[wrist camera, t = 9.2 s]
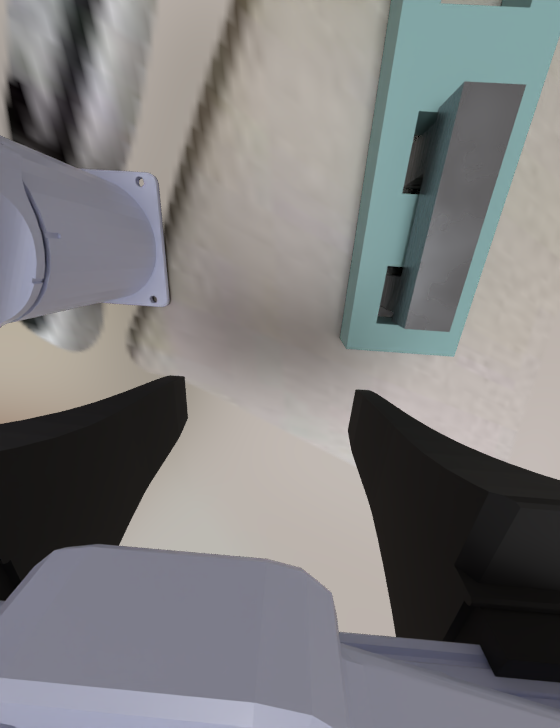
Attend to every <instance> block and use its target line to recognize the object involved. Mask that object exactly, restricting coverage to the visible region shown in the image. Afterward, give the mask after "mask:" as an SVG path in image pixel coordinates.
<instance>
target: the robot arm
mask: <svg viewBox="0 0 560 728" xmlns="http://www.w3.org/2000/svg"><path fill="white" fill-rule="evenodd" d="M142 178H143V180H144V185H143V186H142V187H140V185H139V180H140V179H142ZM153 296H155V297H156V298H157V302H154V301H153V299H152V298H153ZM169 301H170V299H169V288H168V277H167V267H166V256H165V245H164V235H163V224H162V213H161V203H160V193H159V183H158V180H157V178H156V177H155V176H154V175H152V174H150V173H147V172H130V171H114V170H98V169H81V168H76V167H74V166H71V165H69V164H66V163H64V162H62V161H59V160H57V159H55V158H52V157H50V156H48V155H45V154H43V153H40V152H38V151H36V150H33V149H31V148H29V147H26V146H24V145H21V144H19V143H17V142H14V141H12V140H10V139H7V138H5V137H3V136H0V327H2V326H3V325H5V324H7V323H11V322H16V321H20V320H25V319H29V318H33V317H38V316H42V315H47V314H51V313H56V312H60V311H65V310H69V309H73V308H78V307H82V306H87V305H91V304H96V303H112V304H127V305H141V306H155V307H164V306H167V305H168V304H169ZM187 419H188V414H187V402H186V389H185V377H183V376H166V377H163V378H160V379H157V380H154V381H151V382H149V383H146V384H144V385H141V386H139V387H136V388H133V389H131V390H128V391H126V392H123V393H120V394H117V395H114V396H112V397H109V398H106V399H103V400H100V401H97V402H94V403H91V404H88V405H84V406H81V407H77V408H74V409H70V410H66V411H62V412H58V413H53V414H49V415H44V416H40V417H35V418H31V419H26V420H21V421H15V422H10V423H4V424H0V728H560V480H557V479H553V478H550V477H547V476H544V475H541V474H538V473H535V472H532V471H529V470H526V469H523V468H520V467H518V466H515V465H512V464H509V463H506V462H504V461H501V460H499V459H496V458H493V457H491V456H488V455H486V454H484V453H481V452H479V451H477V450H474V449H472V448H469V447H467V446H465V445H463V444H461V443H459V442H456V441H454V440H452V439H450V438H448V437H446V436H445V435H443V434H441V433H439V432H437V431H435V430H433V429H431V428H429V427H428V426H426V425H424V424H423V423H421V422H419V421H418V420H416V419H414V418H413V417H411V416H410V415H408V414H406V413H405V412H403V411H402V410H400V409H399V408H397V407H396V406H394V405H393V404H391V403H390V402H388V401H387V400H385V399H384V398H382V397H381V396H379V395H378V394H376V393H374V392H372V391H370V390H355V396H354V401H353V406H352V412H351V417H350V422H349V427H348V434H349V440H350V445H351V450H352V454H353V457H354V460H355V463H356V466H357V469H358V472H359V474H360V478H361V481H362V484H363V486H364V489H365V492H366V495H367V498H368V501H369V505H370V508H371V511H372V515H373V520H374V524H375V529H376V533H377V537H378V542H379V547H380V552H381V557H382V561H383V566H384V571H385V576H386V582H387V587H388V592H389V597H390V603H391V609H392V614H393V621H394V626H395V633H396V637H389V636H378V635H367V634H356V633H345V632H339V631H338V623H337V615H336V610H335V606H334V601H333V596H332V593H331V592H330V591H329V590H328V589H327V588H326V587H324V586H323V585H322V584H321V583H320V582H318V581H317V580H316V579H315V578H313V577H312V576H311V575H310V574H308V573H307V572H306V571H305V570H303V569H302V568H300V567H296V566H292V565H288V564H285V563H281V562H277V561H273V560H269V559H263V558H252V557H240V556H229V555H218V554H205V553H195V552H184V551H172V550H161V549H149V548H138V547H127V546H119V544H120V542H121V540H122V538H123V536H124V533H125V531H126V529H127V527H128V525H129V523H130V521H131V519H132V516H133V515H134V513H135V511H136V509H137V507H138V505H139V503H140V501H141V499H142V497H143V495H144V493H145V491H146V489H147V488H148V486H149V484H150V483H151V481H152V480H153V478H154V476H155V475H156V473H157V472H158V470H159V469H160V467H161V466H162V464H163V462H164V461H165V459H166V458H167V456H168V455H169V453H170V452H171V450H172V448H173V447H174V445H175V443H176V442H177V440H178V439H179V437H180V435H181V433H182V430H183V428H184V426H185V423H186V421H187Z"/></svg>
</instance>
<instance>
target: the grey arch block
mask: <svg viewBox="0 0 560 728" xmlns="http://www.w3.org/2000/svg"><path fill="white" fill-rule="evenodd" d="M525 88H526V84H506V83H487V82H467V81H464V82H463V84H462V85H461V86H460V87H459V88H458V89H457V90H456V91H455V92H454V93H453V94H452V95H451V96H450V97H449V98H448V99H447V100H446V101H445V102H444V103H443V104H442V105H441V106H440V107H439V108H438V113H437V117H436V122H435V123H434V124H433V125H432V126H431V127H430V128H429V129H428V130H427V131H426V132H425V133H424V134H422V135H421V136H420V137H419V138H418V139H417V140H416V141H415V142H414V143H413V144H412V148H411V153H410V157H409V162H408V167H407V172H406V177H405V182H404V187H403V188H412V189H421V190H420V194H419V199H418V203H417V208H416V212H415V217H414V221H413V226H412V230H411V235H410V239H409V244H408V248H407V253H406V257H405V262H404V266H403V271H402V275H401V276H396V275H386V277H385V282H384V287H383V292H382V297H381V302H380V306H382V307H384V308H386V309H388V310H389V311H391V312H393V316H392V320H391V321H393V322H394V323H396V324H397V325H399V326H401V327H402V328H404V329H413V330H427V331H441V332H450V329H451V326H452V323H453V320H454V316H455V313H456V310H457V307H458V303H459V300H460V297H461V294H462V291H463V287H464V284H465V281H466V278H467V274H468V271H469V268H470V265H471V262H472V258H473V255H474V252H475V249H476V245H477V242H478V239H479V236H480V233H481V229H482V226H483V223H484V220H485V216H486V213H487V210H488V207H489V204H490V200H491V197H492V194H493V191H494V187H495V184H496V181H497V178H498V175H499V171H500V168H501V165H502V162H503V158H504V155H505V152H506V149H507V146H508V142H509V139H510V136H511V133H512V129H513V126H514V123H515V120H516V117H517V113H518V110H519V107H520V104H521V100H522V97H523V94H524V91H525Z"/></svg>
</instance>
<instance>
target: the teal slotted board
mask: <svg viewBox="0 0 560 728" xmlns="http://www.w3.org/2000/svg"><path fill="white" fill-rule="evenodd" d="M559 36H560V0H503V1H502V5H501V6H483V5H462V4H441V0H391V5H390V11H389V18H388V24H387V31H386V37H385V44H384V51H383V57H382V64H381V70H380V77H379V84H378V90H377V97H376V103H375V110H374V117H373V123H372V130H371V136H370V143H369V149H368V156H367V163H366V169H365V176H364V182H363V189H362V196H361V202H360V209H359V215H358V222H357V229H356V235H355V242H354V248H353V255H352V261H351V268H350V275H349V281H348V288H347V294H346V301H345V308H344V314H343V321H342V327H341V334H340V339H341V341H342V343H343V344H344V346H345V348H346V349H356V350H370V351H384V352H398V353H412V354H425V355H439V356H453V357H454V355H455V352H456V349H457V346H458V343H459V340H460V337H461V334H462V331H463V328H464V325H465V322H466V319H467V316H468V313H469V309H470V306H471V303H472V300H473V297H474V294H475V291H476V288H477V285H478V282H479V279H480V276H481V273H482V270H483V267H484V264H485V261H486V258H487V255H488V252H489V249H490V246H491V243H492V240H493V237H494V234H495V230H496V227H497V224H498V221H499V218H500V215H501V212H502V209H503V206H504V203H505V200H506V197H507V194H508V191H509V188H510V185H511V182H512V179H513V176H514V173H515V170H516V167H517V164H518V161H519V158H520V154H521V151H522V148H523V145H524V142H525V139H526V136H527V133H528V130H529V127H530V124H531V121H532V118H533V115H534V112H535V109H536V106H537V103H538V100H539V97H540V94H541V91H542V88H543V85H544V82H545V79H546V75H547V72H548V69H549V66H550V63H551V60H552V57H553V54H554V51H555V48H556V45H557V42H558V39H559ZM464 81H467V82H487V83H506V84H526V88H525V91H524V94H523V97H522V100H521V104H520V107H519V110H518V113H517V117H516V120H515V123H514V126H513V129H512V133H511V136H510V139H509V142H508V146H507V149H506V152H505V155H504V158H503V162H502V165H501V168H500V171H499V175H498V178H497V181H496V184H495V187H494V191H493V194H492V197H491V200H490V204H489V207H488V210H487V213H486V216H485V220H484V223H483V226H482V229H481V233H480V236H479V239H478V242H477V245H476V249H475V252H474V255H473V258H472V262H471V265H470V268H469V271H468V274H467V278H466V281H465V284H464V287H463V291H462V294H461V297H460V300H459V303H458V307H457V310H456V313H455V316H454V320H453V323H452V326H451V329H450V332H441V331H427V330H413V329H404V328H402V327H401V326H399V325H397V324H396V323H394V322H393V321H391V320H392V317H379V316H378V312H379V307H380V302H381V297H382V292H383V287H384V282H385V277H386V272H387V267H388V266H396V267H403V266H404V262H405V257H406V253H407V248H408V244H409V239H410V235H411V230H412V226H413V221H414V217H415V212H416V208H417V203H418V199H419V195H418V194H402V192H403V187H404V182H405V177H406V172H407V167H408V162H409V157H410V153H411V148H412V143H413V138H414V135H422V134H424V133H425V132H426V131H427V130H428V129H429V128H430V127H431V126H432V125H433V124H434V123H435V122H436V117H437V113H438V108H439V107H440V106H441V105H442V104H443V103H444V102H445V101H446V100H447V99H448V98H449V97H450V96H451V95H452V94H453V93H454V92H455V91H456V90H457V89H458V88H459V87H460V86H461V85H462V84H463V82H464Z"/></svg>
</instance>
